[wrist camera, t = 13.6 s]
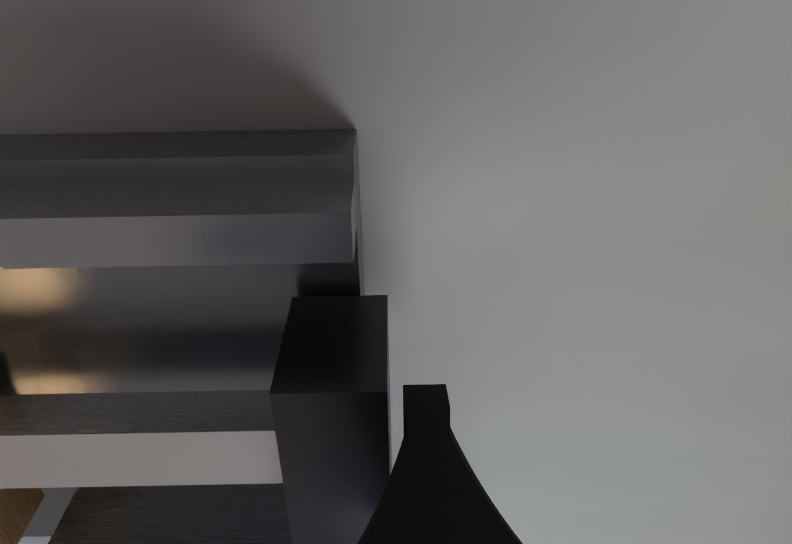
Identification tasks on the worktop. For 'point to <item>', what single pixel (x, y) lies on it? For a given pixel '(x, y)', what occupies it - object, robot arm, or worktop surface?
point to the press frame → (167, 293)
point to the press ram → (228, 430)
